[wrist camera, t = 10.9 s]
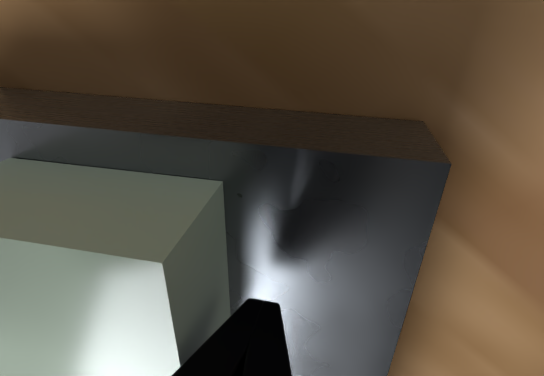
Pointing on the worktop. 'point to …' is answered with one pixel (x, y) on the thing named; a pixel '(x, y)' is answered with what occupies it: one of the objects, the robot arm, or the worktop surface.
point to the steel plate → (274, 203)
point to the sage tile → (107, 269)
